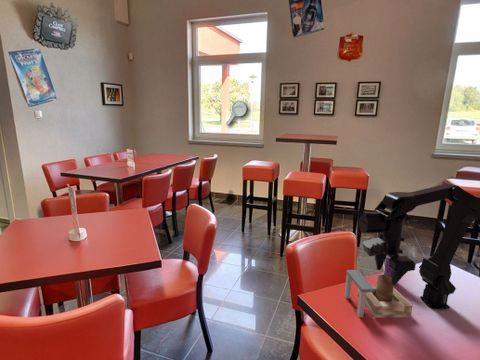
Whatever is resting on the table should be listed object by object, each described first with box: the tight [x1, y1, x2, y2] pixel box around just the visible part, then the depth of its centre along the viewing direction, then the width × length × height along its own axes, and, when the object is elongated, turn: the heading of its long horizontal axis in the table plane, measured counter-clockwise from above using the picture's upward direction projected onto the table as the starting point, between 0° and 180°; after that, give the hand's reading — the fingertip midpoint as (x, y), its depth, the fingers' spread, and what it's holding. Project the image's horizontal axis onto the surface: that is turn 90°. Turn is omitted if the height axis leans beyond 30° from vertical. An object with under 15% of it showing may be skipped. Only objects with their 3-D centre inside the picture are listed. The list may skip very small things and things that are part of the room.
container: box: [383, 245, 402, 277], centre depth 112 cm, size 5×5×15 cm
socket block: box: [357, 284, 413, 319], centre depth 98 cm, size 12×12×4 cm
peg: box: [375, 274, 395, 302], centre depth 97 cm, size 5×5×9 cm
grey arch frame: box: [344, 269, 375, 318], centre depth 97 cm, size 4×12×10 cm, turn 3°
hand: (385, 276), depth 96 cm, fingers open, 9 cm apart
